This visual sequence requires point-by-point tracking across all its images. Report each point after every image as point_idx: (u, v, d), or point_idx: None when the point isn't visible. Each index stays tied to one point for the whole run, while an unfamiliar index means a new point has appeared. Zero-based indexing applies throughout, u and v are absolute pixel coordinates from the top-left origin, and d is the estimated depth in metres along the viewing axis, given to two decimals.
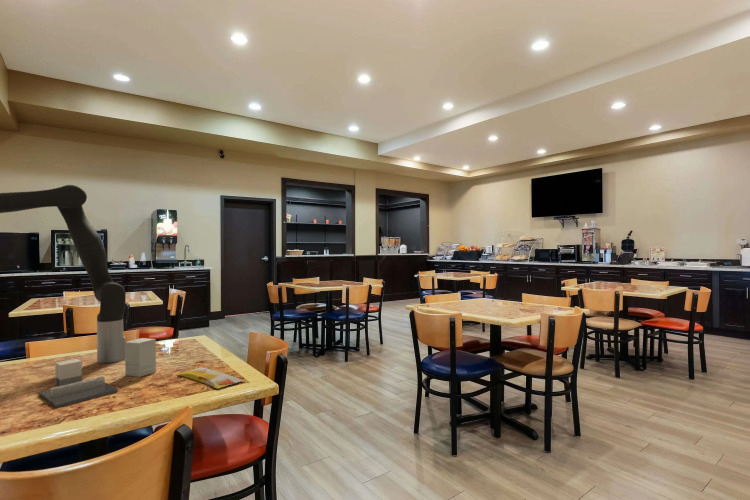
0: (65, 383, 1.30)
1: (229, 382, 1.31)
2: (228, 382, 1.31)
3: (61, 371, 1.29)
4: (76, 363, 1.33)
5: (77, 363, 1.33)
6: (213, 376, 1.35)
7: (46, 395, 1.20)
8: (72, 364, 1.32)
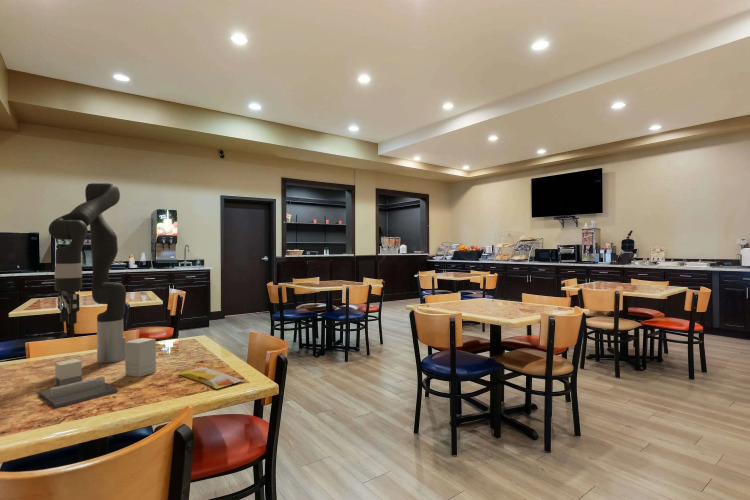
0: (65, 383, 1.30)
1: (229, 382, 1.31)
2: (227, 382, 1.31)
3: (61, 371, 1.29)
4: (76, 363, 1.33)
5: (77, 363, 1.33)
6: (213, 376, 1.35)
7: (46, 395, 1.20)
8: (72, 364, 1.32)
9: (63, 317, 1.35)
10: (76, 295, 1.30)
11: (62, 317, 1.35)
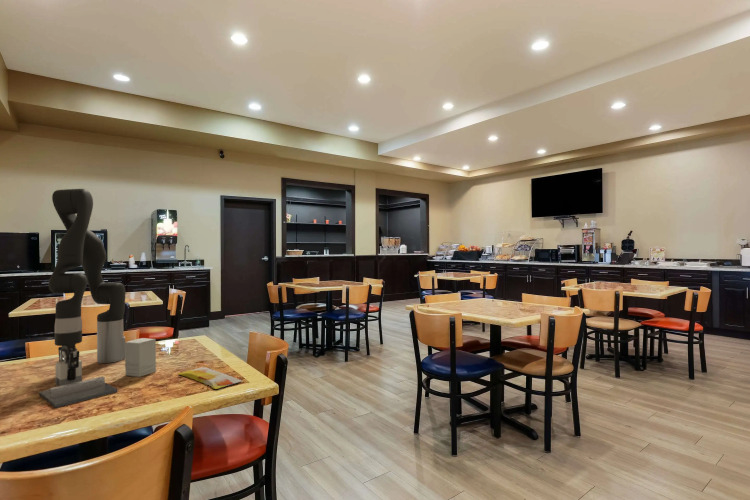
0: (65, 383, 1.30)
1: (228, 382, 1.31)
2: (226, 383, 1.31)
3: (61, 371, 1.29)
4: None
5: None
6: (213, 376, 1.35)
7: (46, 395, 1.20)
8: (72, 364, 1.32)
9: None
10: (76, 353, 1.30)
11: None
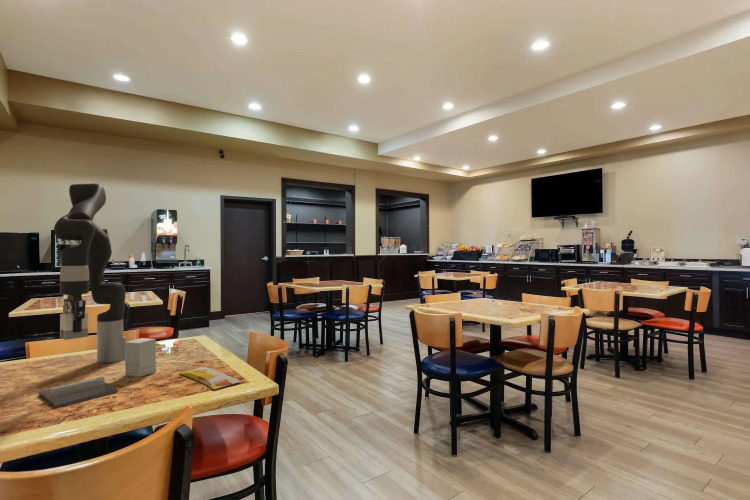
0: (70, 335, 1.22)
1: (227, 382, 1.31)
2: (225, 383, 1.30)
3: (66, 322, 1.21)
4: None
5: None
6: (212, 376, 1.35)
7: (46, 395, 1.20)
8: None
9: None
10: (82, 302, 1.21)
11: None
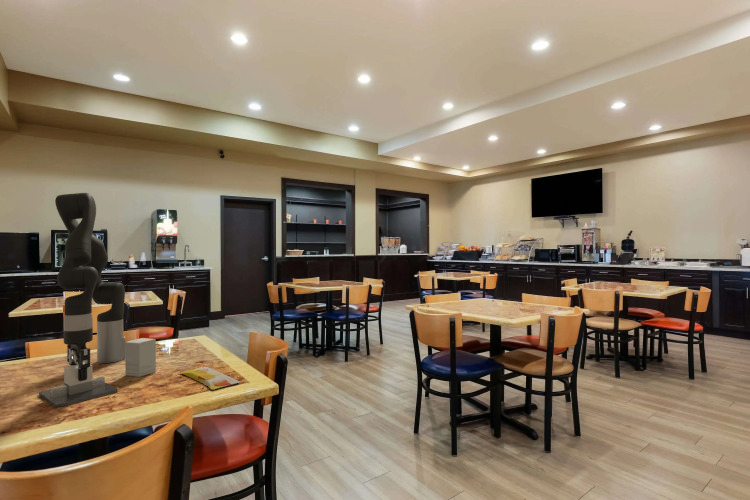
0: (75, 389, 1.21)
1: (226, 383, 1.30)
2: (224, 383, 1.30)
3: (71, 377, 1.20)
4: None
5: (88, 368, 1.24)
6: (212, 376, 1.35)
7: (46, 395, 1.20)
8: None
9: None
10: (87, 350, 1.20)
11: None
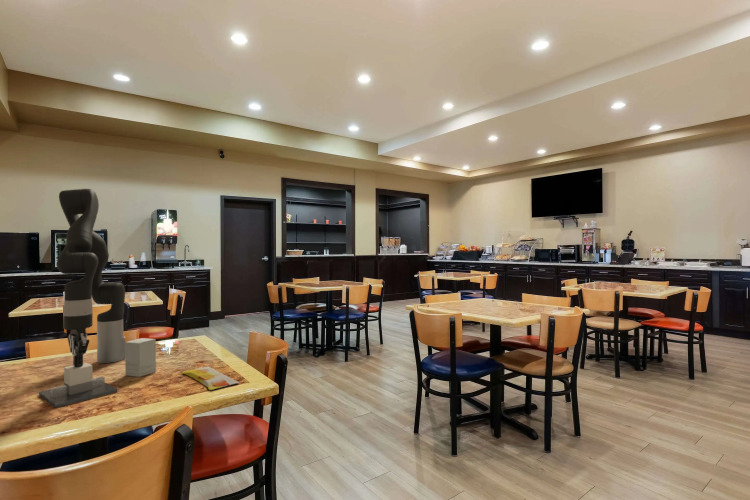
0: (75, 389, 1.21)
1: (225, 383, 1.30)
2: (222, 384, 1.30)
3: (71, 377, 1.20)
4: (86, 368, 1.24)
5: (88, 368, 1.24)
6: (211, 376, 1.35)
7: (46, 395, 1.20)
8: (82, 369, 1.23)
9: None
10: (86, 342, 1.21)
11: None
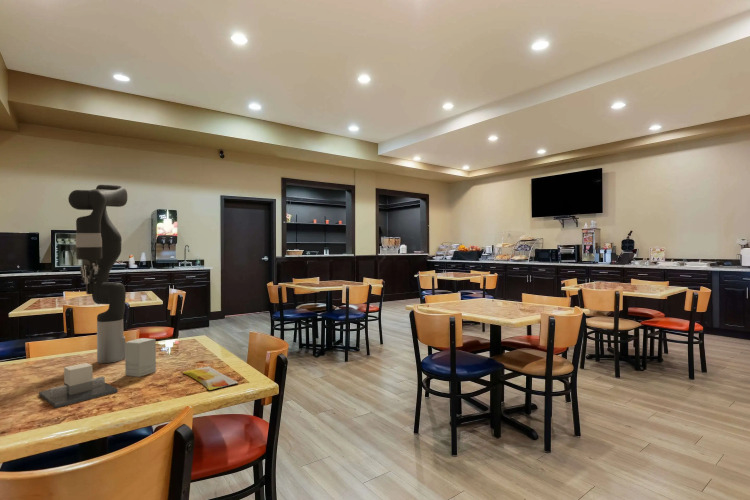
0: (75, 389, 1.21)
1: (224, 383, 1.30)
2: (222, 384, 1.29)
3: (71, 377, 1.20)
4: (86, 368, 1.24)
5: (88, 368, 1.24)
6: (211, 376, 1.35)
7: (46, 395, 1.20)
8: (82, 369, 1.23)
9: None
10: (97, 271, 1.33)
11: None
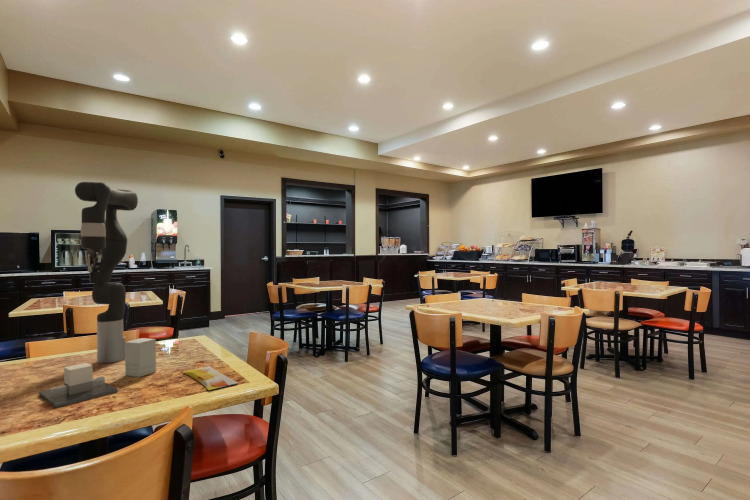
0: (75, 389, 1.21)
1: (223, 384, 1.30)
2: (221, 384, 1.29)
3: (71, 377, 1.20)
4: (86, 368, 1.24)
5: (88, 368, 1.24)
6: (211, 376, 1.35)
7: (46, 395, 1.20)
8: (82, 369, 1.23)
9: None
10: (101, 259, 1.38)
11: None
